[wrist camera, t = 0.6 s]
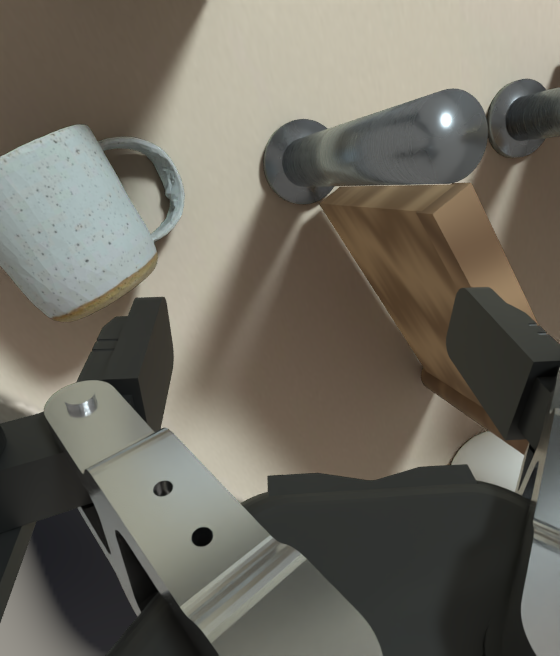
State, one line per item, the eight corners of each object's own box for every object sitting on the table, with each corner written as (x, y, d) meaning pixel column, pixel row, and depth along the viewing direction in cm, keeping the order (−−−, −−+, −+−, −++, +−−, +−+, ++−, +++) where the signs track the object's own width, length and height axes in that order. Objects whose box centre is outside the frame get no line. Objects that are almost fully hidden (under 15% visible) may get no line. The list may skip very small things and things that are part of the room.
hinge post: (265, 115, 29) (392, 38, 14) (341, 125, 30) (528, 64, 16) (261, 201, 30) (371, 211, 16) (333, 206, 32) (498, 219, 17)
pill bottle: (532, 442, 44) (712, 559, 30) (488, 511, 45) (643, 655, 31) (476, 415, 41) (646, 530, 27) (430, 490, 42) (571, 638, 28)
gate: (309, 208, 30) (439, 223, 17) (344, 181, 30) (500, 174, 17) (431, 396, 37) (590, 510, 24) (459, 373, 38) (633, 474, 24)
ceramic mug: (64, 312, 29) (42, 350, 22) (-29, 194, 26) (-92, 194, 19) (207, 225, 30) (230, 235, 23) (134, 102, 27) (133, 70, 20)
